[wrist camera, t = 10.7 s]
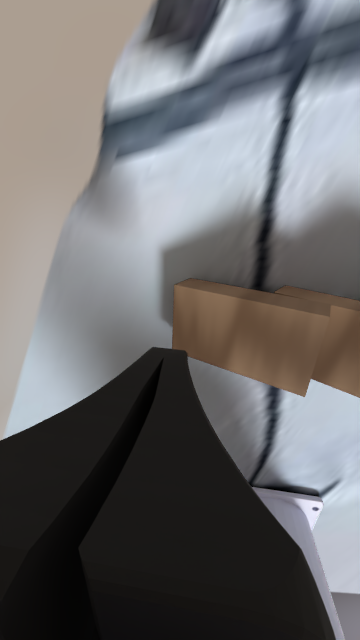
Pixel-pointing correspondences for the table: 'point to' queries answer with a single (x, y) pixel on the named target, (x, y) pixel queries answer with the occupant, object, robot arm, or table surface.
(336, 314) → the domino
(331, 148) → the table surface
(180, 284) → the domino
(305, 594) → the robot arm
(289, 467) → the table surface
